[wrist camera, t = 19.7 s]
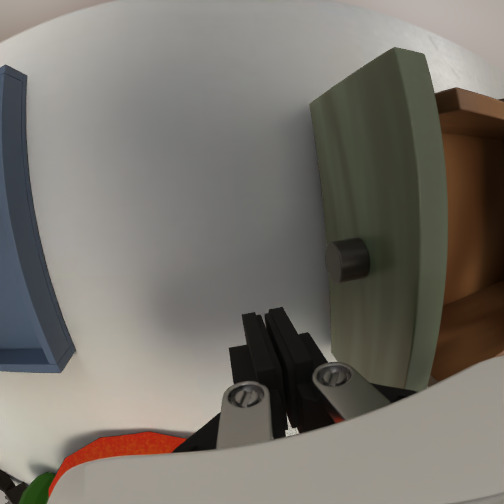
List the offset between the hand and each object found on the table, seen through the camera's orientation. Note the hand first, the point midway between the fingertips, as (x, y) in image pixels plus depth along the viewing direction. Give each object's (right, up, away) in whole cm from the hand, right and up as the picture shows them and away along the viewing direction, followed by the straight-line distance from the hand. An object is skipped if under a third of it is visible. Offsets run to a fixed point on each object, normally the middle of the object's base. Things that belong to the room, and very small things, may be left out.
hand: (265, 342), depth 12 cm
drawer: (+10, +6, +3) cm, 12 cm away
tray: (-20, +5, 0) cm, 20 cm away
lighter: (-31, -26, +6) cm, 40 cm away
